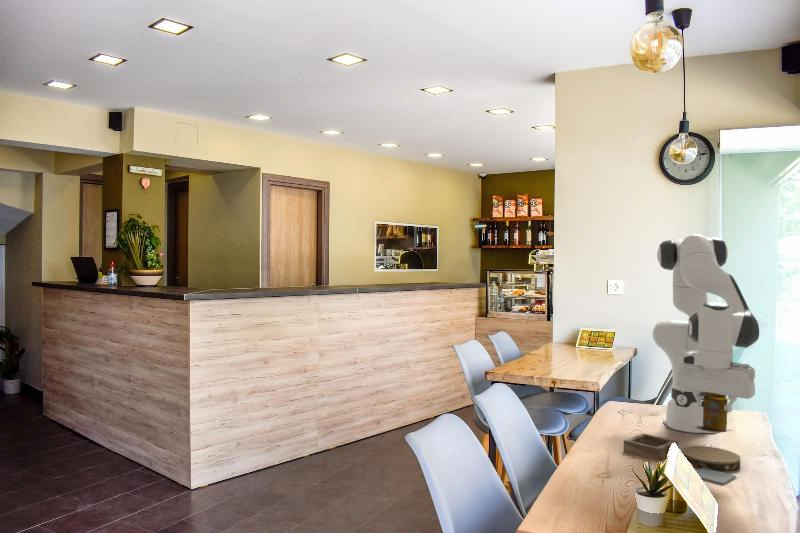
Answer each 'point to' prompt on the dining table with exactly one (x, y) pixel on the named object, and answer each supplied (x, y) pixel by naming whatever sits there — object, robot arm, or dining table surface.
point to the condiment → (714, 413)
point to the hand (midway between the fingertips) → (714, 409)
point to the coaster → (715, 476)
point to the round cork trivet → (712, 458)
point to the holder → (648, 446)
